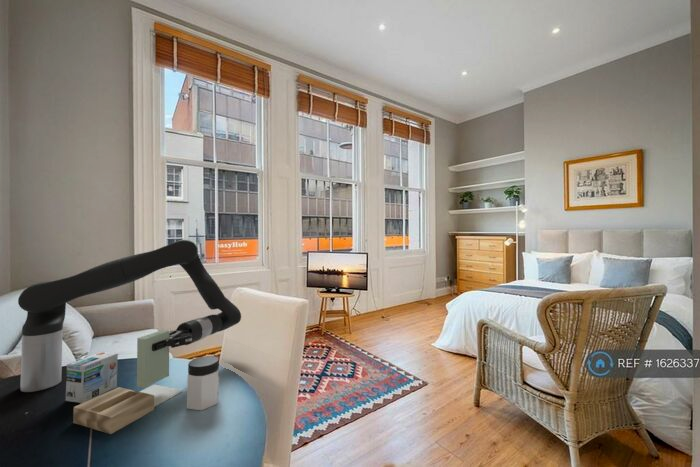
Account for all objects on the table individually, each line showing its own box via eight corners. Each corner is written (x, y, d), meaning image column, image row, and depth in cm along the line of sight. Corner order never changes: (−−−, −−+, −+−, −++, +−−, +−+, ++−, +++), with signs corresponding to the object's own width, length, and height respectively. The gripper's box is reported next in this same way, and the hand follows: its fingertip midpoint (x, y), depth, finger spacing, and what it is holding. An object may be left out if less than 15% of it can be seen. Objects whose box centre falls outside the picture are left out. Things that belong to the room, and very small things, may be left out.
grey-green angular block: (136, 386, 88) (137, 338, 88) (161, 374, 95) (162, 330, 96) (144, 387, 87) (144, 339, 87) (169, 375, 94) (169, 331, 95)
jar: (217, 408, 85) (218, 365, 85) (185, 413, 82) (185, 369, 82) (219, 392, 93) (220, 353, 94) (190, 397, 90) (190, 357, 91)
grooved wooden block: (73, 422, 78) (73, 407, 78) (118, 400, 88) (119, 387, 88) (111, 434, 73) (111, 417, 73) (154, 409, 84) (154, 395, 84)
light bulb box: (82, 404, 86) (83, 366, 87) (64, 401, 88) (65, 364, 88) (118, 386, 97) (118, 352, 97) (101, 384, 98) (101, 351, 99)
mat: (122, 400, 88) (122, 399, 88) (154, 385, 98) (154, 384, 98) (152, 408, 84) (152, 407, 84) (182, 391, 94) (182, 390, 94)
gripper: (179, 318, 108) (131, 332, 92) (211, 321, 104) (166, 336, 87) (179, 339, 108) (131, 356, 92) (210, 343, 104) (165, 363, 87)
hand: (148, 347), depth 90 cm, fingers closed on grey-green angular block, 3 cm apart
